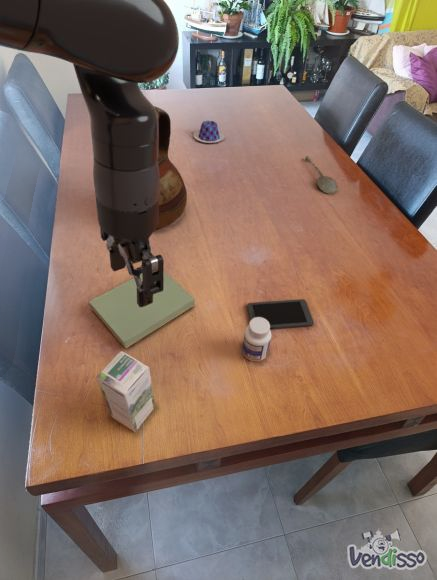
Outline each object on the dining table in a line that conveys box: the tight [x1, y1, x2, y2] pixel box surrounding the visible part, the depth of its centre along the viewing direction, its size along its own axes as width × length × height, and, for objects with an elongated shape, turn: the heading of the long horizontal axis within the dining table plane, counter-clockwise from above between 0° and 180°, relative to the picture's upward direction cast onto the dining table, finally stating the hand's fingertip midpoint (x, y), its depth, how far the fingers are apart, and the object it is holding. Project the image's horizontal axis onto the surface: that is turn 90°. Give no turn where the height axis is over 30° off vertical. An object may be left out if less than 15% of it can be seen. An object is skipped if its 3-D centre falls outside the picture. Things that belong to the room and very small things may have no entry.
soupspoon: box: [304, 155, 339, 195], centre depth 125 cm, size 22×3×7 cm
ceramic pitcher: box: [153, 105, 188, 229], centre depth 97 cm, size 20×20×30 cm
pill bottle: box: [242, 317, 272, 362], centre depth 74 cm, size 5×5×9 cm
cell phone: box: [246, 298, 314, 330], centre depth 83 cm, size 7×14×1 cm, turn 97°
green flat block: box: [88, 271, 196, 349], centre depth 82 cm, size 18×14×3 cm
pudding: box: [193, 120, 226, 144], centre depth 140 cm, size 12×12×5 cm
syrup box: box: [96, 350, 156, 433], centre depth 62 cm, size 6×6×14 cm
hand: (131, 285), depth 56 cm, fingers open, 8 cm apart
